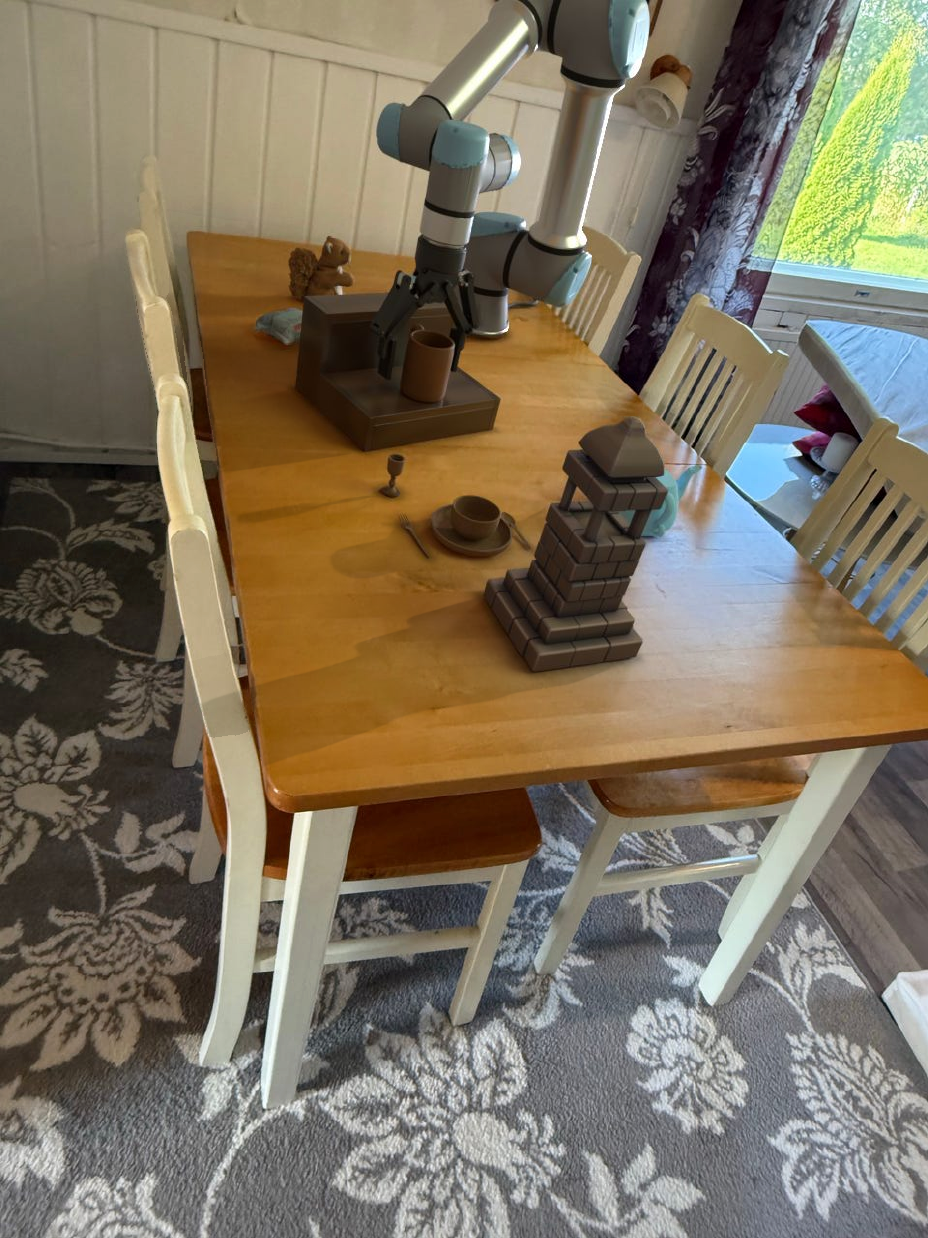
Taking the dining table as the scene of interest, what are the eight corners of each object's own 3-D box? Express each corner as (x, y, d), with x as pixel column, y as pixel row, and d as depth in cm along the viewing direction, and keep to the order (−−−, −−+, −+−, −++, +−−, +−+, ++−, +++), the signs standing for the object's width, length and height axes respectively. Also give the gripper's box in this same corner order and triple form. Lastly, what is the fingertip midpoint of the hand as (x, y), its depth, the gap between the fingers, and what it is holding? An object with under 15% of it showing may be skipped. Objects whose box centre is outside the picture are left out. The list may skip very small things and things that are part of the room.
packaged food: (329, 341, 164) (331, 316, 161) (285, 354, 156) (287, 328, 153) (295, 325, 167) (297, 300, 164) (251, 336, 159) (252, 310, 156)
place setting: (432, 568, 115) (440, 532, 111) (374, 488, 127) (380, 453, 124) (539, 554, 123) (550, 520, 119) (475, 480, 136) (484, 447, 132)
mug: (384, 370, 146) (393, 316, 140) (426, 371, 149) (436, 319, 143) (407, 403, 138) (418, 348, 132) (450, 404, 141) (462, 350, 135)
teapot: (579, 525, 133) (601, 464, 125) (609, 487, 143) (631, 428, 136) (654, 560, 130) (681, 500, 123) (678, 518, 140) (705, 460, 133)
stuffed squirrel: (348, 317, 176) (356, 252, 167) (279, 302, 174) (284, 235, 166) (353, 301, 183) (362, 237, 175) (288, 286, 182) (293, 221, 174)
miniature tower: (531, 674, 103) (610, 455, 84) (481, 596, 112) (543, 385, 94) (639, 658, 110) (735, 453, 91) (584, 586, 119) (660, 388, 101)
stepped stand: (492, 429, 151) (515, 342, 141) (364, 451, 135) (379, 356, 125) (421, 373, 162) (437, 289, 152) (294, 388, 146) (303, 295, 136)
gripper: (490, 230, 137) (462, 355, 150) (359, 230, 123) (341, 368, 136) (519, 248, 133) (488, 374, 146) (388, 249, 119) (367, 390, 132)
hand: (417, 372), depth 141 cm, fingers open, 13 cm apart
